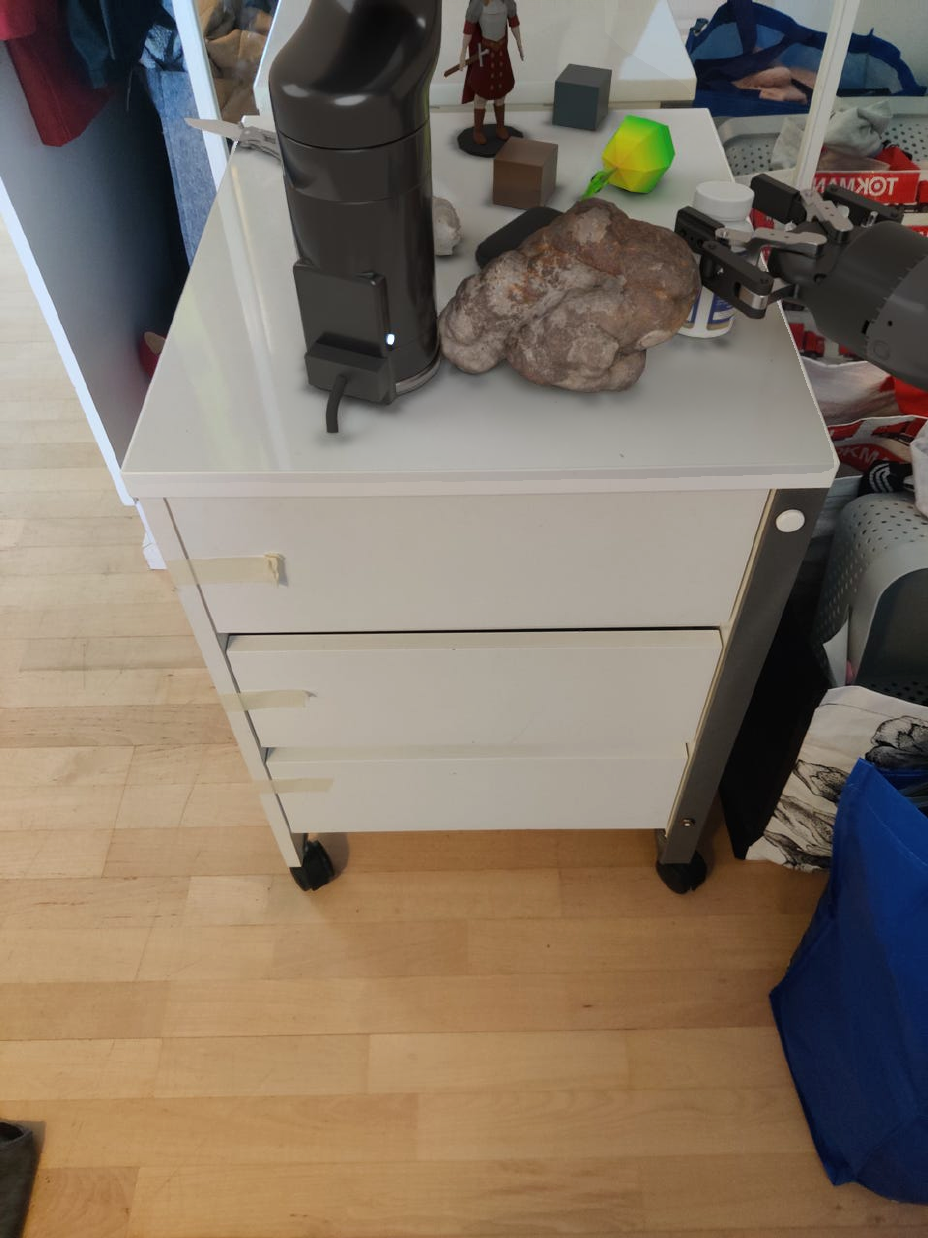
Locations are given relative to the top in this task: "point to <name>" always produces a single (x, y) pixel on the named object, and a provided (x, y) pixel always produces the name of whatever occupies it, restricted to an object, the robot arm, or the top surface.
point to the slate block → (581, 96)
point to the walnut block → (524, 173)
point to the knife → (239, 134)
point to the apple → (635, 156)
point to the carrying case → (514, 233)
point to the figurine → (487, 72)
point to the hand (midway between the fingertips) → (716, 204)
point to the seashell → (445, 226)
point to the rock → (575, 301)
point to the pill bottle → (731, 210)
